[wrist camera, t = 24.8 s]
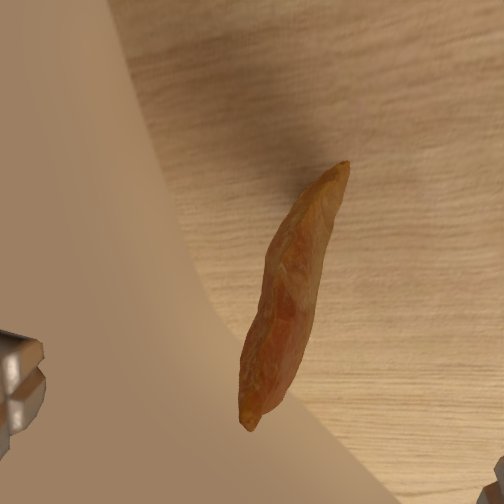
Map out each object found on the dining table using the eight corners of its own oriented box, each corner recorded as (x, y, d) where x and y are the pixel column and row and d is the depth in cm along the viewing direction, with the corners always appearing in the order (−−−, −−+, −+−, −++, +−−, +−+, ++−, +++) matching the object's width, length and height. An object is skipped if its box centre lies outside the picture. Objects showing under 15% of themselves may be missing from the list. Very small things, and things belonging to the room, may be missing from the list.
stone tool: (302, 135, 21) (229, 290, 7) (353, 145, 20) (376, 324, 7) (282, 236, 23) (197, 500, 9) (327, 245, 23) (308, 531, 9)
